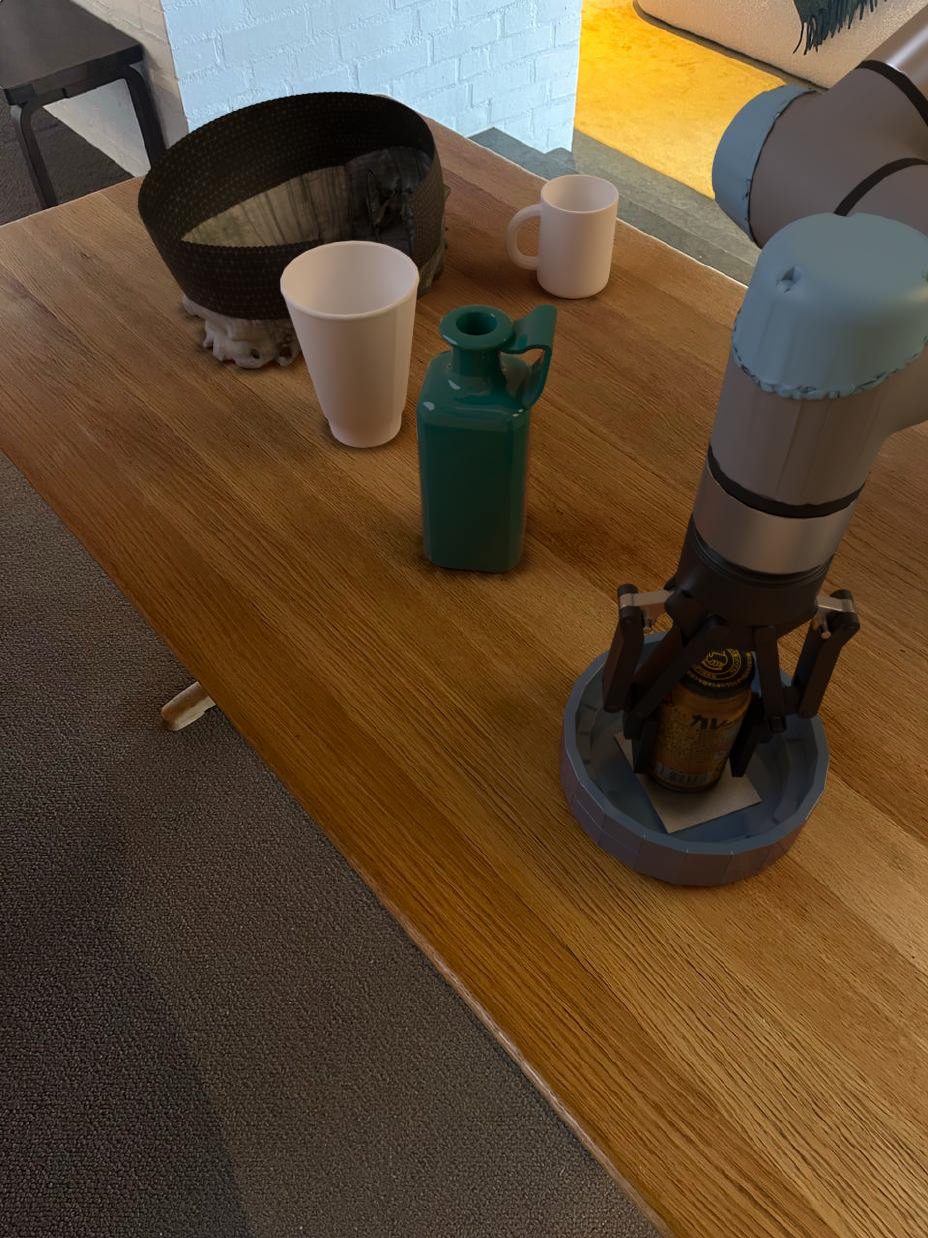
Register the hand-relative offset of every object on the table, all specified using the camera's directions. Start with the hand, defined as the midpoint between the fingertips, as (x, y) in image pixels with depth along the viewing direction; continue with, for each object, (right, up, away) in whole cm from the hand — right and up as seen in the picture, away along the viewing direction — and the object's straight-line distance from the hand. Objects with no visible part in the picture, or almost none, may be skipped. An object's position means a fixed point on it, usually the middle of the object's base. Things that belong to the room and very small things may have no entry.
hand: (686, 758), depth 67 cm
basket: (-31, +46, +41) cm, 69 cm away
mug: (-5, +48, +42) cm, 65 cm away
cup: (-25, +29, +27) cm, 47 cm away
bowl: (0, -1, +2) cm, 2 cm away
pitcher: (-14, +17, +17) cm, 28 cm away
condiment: (0, -1, +1) cm, 2 cm away
